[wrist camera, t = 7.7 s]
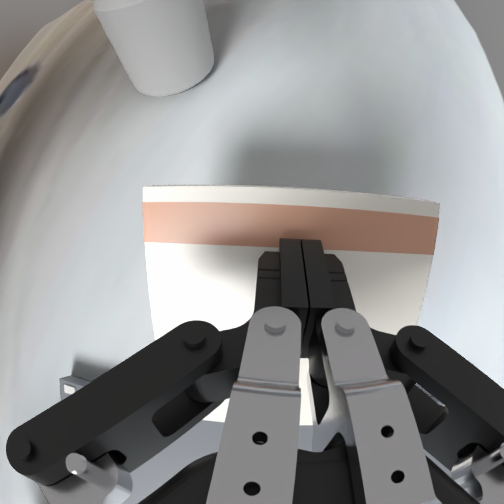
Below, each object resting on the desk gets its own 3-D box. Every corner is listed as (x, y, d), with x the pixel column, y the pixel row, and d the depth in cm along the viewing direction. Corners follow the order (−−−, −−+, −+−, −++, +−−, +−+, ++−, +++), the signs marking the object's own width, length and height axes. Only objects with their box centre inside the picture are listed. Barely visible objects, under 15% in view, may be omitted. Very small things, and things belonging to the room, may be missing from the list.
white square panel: (168, 415, 14) (142, 187, 11) (174, 400, 15) (153, 185, 12) (382, 419, 13) (440, 203, 10) (376, 405, 14) (426, 200, 11)
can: (126, 74, 22) (78, -17, 10) (193, 39, 23) (169, -57, 11) (153, 117, 21) (93, 3, 9) (231, 75, 21) (215, -46, 10)
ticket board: (88, 494, 15) (80, 502, 13) (71, 375, 17) (58, 378, 15) (432, 505, 13) (440, 513, 12) (466, 388, 16) (478, 392, 14)
